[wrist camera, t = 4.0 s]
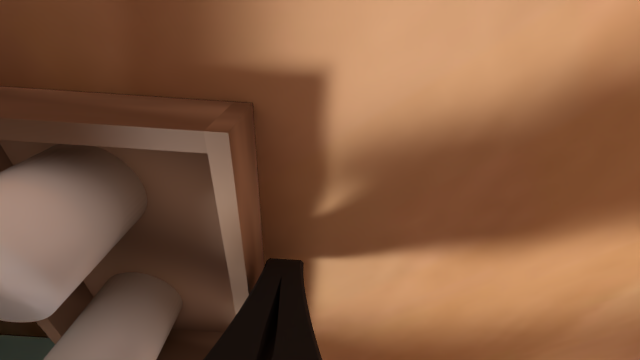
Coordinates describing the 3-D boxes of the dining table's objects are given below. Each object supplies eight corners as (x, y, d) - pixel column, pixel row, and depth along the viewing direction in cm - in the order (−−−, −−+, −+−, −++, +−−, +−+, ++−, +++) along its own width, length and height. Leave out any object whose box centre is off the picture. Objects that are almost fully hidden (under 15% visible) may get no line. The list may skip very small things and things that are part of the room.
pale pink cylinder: (158, 228, 11) (80, 326, 8) (67, 222, 11) (-51, 318, 8) (130, 145, 9) (10, 227, 6) (20, 138, 9) (-165, 216, 6)
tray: (268, 330, 16) (259, 380, 14) (110, 320, 16) (76, 369, 13) (252, 103, 9) (228, 132, 7) (-31, 84, 9) (-146, 108, 7)
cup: (189, 320, 14) (145, 417, 11) (119, 316, 14) (54, 411, 11) (173, 274, 12) (115, 374, 9) (93, 269, 12) (5, 367, 9)
